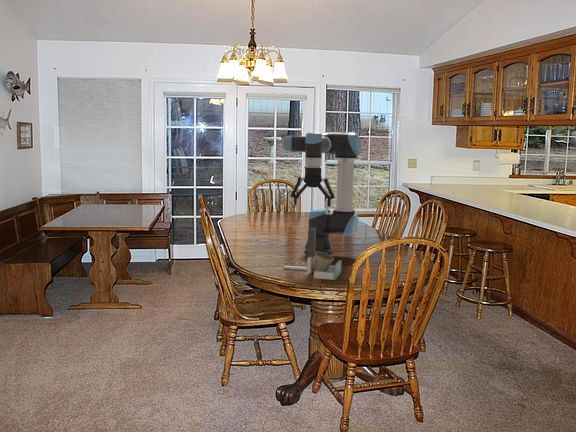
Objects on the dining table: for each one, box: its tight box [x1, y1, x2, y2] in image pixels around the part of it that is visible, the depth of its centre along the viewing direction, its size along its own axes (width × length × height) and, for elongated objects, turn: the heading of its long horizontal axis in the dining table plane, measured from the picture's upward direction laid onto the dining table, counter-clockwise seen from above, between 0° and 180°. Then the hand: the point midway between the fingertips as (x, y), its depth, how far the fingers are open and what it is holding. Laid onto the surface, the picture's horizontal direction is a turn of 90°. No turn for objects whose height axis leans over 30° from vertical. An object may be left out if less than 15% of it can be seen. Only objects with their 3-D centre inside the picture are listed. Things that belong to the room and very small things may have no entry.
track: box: [283, 265, 307, 272], centre depth 293 cm, size 2×17×1 cm, turn 75°
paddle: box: [306, 228, 316, 274], centre depth 285 cm, size 13×4×20 cm, turn 165°
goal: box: [313, 259, 342, 281], centre depth 282 cm, size 14×10×6 cm
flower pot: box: [312, 252, 335, 273], centre depth 283 cm, size 9×9×9 cm
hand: (312, 213), depth 281 cm, fingers open, 13 cm apart
